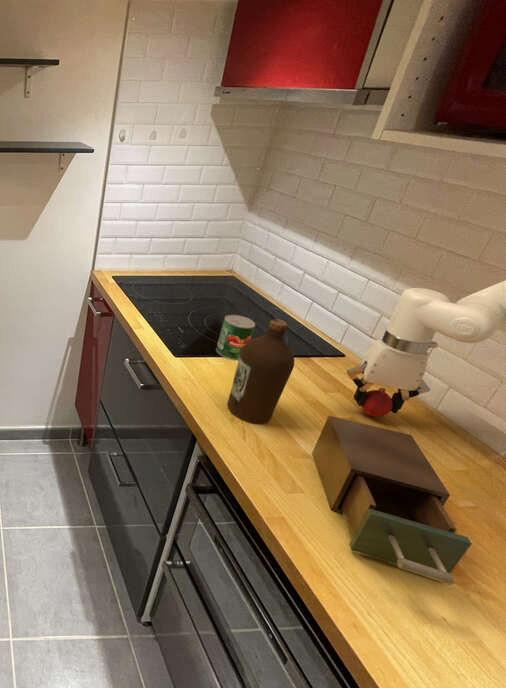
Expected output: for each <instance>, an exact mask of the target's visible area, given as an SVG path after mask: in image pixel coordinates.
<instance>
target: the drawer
mask: <svg viewBox="0 0 506 688" xmlns="http://www.w3.org/2000/svg"><path fill="white" fill-rule="evenodd" d="M340 505H341V508H342V511H343V513H342V514H343V517H344V519H345V522H346V525H347V528H348V529H349V533H350V535H351V540H350V542H349V544H348V545H349V548H350V551H353V552H357V553H359V554H363V555H366V556H368V557H372V558H374V559H379V560H381V561H385V562H388V563H390V564H394V565H396V566H397V567H398V568H399V569H401V570H404V571H407V572H409V573H413V574H416V575H420V576H422V577H426V578H429V579H431V580H435V581H438V582H441V583H445V584H448V585H453V584H454V581H455V580H454V579H455V578H454V576H453V574H452V572H453V570H454V569H455V568H456V566H457V565H458V564H459V562H460V561H461V560H462V558H463V556H464V555H465V554H466V553H467V551H468V550H469V548H470V547H471V545H472V541H471V540H470V539H469V537H468V536H465V535H462V534H458V533H456V531H457V530H458V529H457V527H456V525H455V523H454V522H453V521H452V519H451V517H450V516H449V513H448V512H447V510H446V509H445V507H444V506H442V504H441V502H440V501H439V499H438V498H437V496H436V495H434V494H430V493H427V492H423V491H419V490H415V489H412V488H408V487H404V486H401V485H397V484H393V483H390V482H386V481H382V480H379V479H375V478H371V477H368V476H364V475H360V474H357V473H355V474H354V476H353V478H352V480H351V482H350V484H349V486H348V488H347V490H346V492H345V494H344V496H343V498H342V500H341V502H340Z"/></svg>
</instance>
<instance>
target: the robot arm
mask: <svg viewBox="0 0 506 688" xmlns="http://www.w3.org/2000/svg"><path fill="white" fill-rule="evenodd" d="M505 323H506V280H503V281H500V282H498V283H495V284H493V285H491V286H488V287H485V288H483V289H481V290H479V291H476V292H474V293H471V294H469V295H467V296H465V297H461V299H459V300H457V301H456V302H455V303H453V302H450V299H449V297H448V296H447V295H445V294H444V293H441V292H439V291H437V290H433V289H429V288H424V287H410V288H407V289H405V290H404V291H403V292H402V293H401V295H400V296H399V299H398V302H397V304H396V306H395V308H394V311H393V312H392V315H391V318H390V320H389V322H388V324H387V326H386V329H385V332H383V335H382V337H381V338H377V339H376V340H375V341H374V342H373V343H372V345H371V346H370V347H369V349H368V350H367V352H366V354H364V356H363V358H362V360H361V362H360V364H359V365H357V366H354V367H352V368H350V369H348V370H346V371H345V373H346V374H347V376H348V377H349V378H350V380H352V382H353V383H354V384H355V385H356V387H357V388H356V390H355V392H354V394H353V400H354V401H355V402H356V404H357V406H359V407H361V406H363V404H364V401H365V399H366V397H367V395H368V393H367V392H368V391H369V389H370V388H371V387H373V386H374V385H378V386H383V387H389V388H392V389H397V390H396V391H397V392H394V393H393V394H392V396H391V397H390V398H391V400H392V402H393V408H392V410H391V411H390V413H392V414H394V415H397V414H398V412H399V411H400V410H401V409H402V408H403V405H404V404H405V402H407V401H409V400H410V399H411V398H414V397H418V396H420V395H422V394H425V393H429V392H430V391H431V388H430V387H429V386H428V385H427V383H426V381H424V379H423V378H424V376H425V373H426V370H427V366H428V361H429V352H428V351H429V349H432V348H433V349H436V348H437V347H438V342H437V341H433V339H434V336H436V335H435V334H436V333H438V334H441V335H443V336H445V337H447V338H449V339H452V340H455V341H457V342H461V343H466V344H467V343H468V344H476V343H477V344H478V343H482V342H484V341H486V340H488V339H490V338H491V337H492V336H493V335H494V334H495V332H496V331H497V329H498V328H499V326H500V325H502V324H505ZM360 374H362V375H363V377H361V378H359V377H358V375H360Z"/></svg>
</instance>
